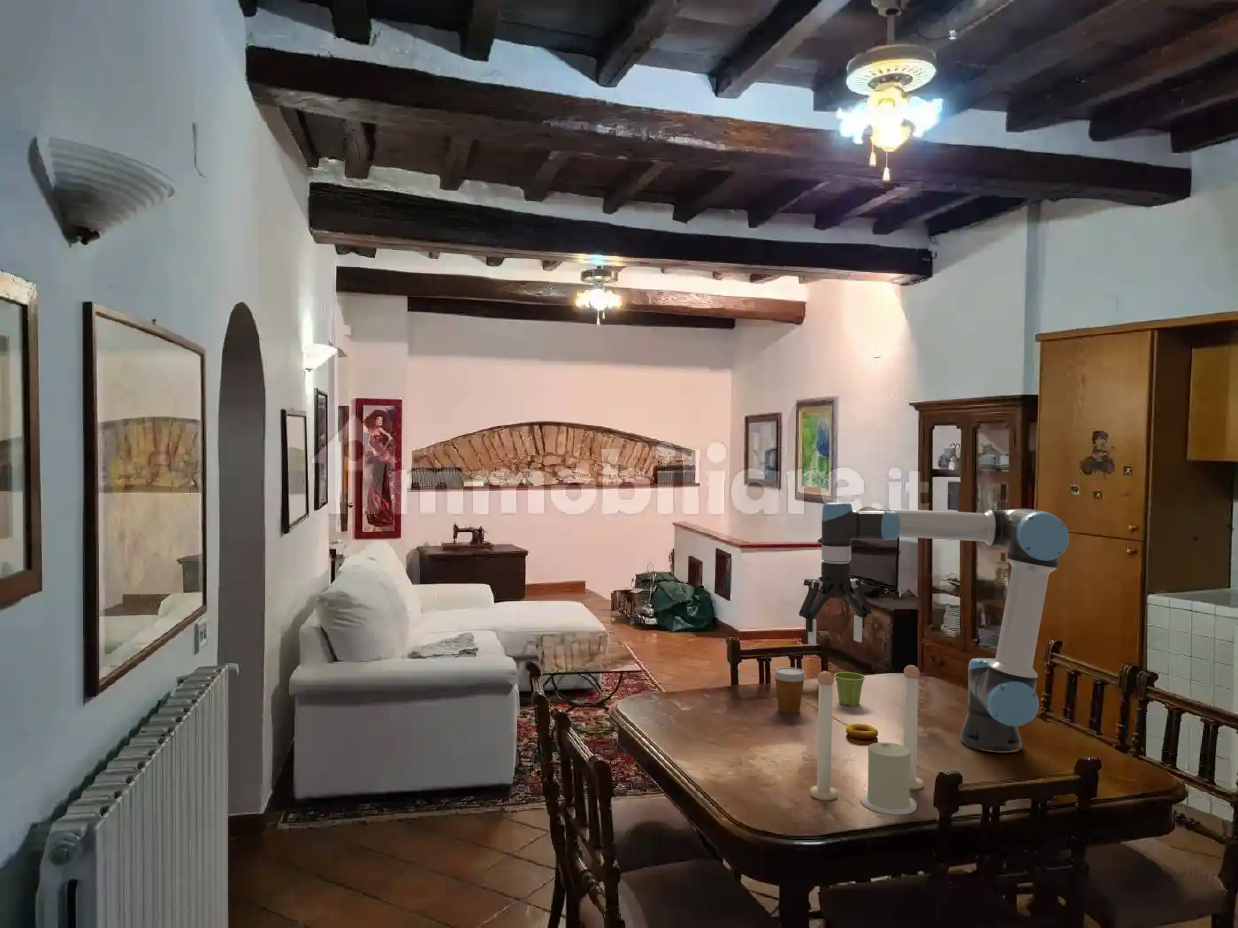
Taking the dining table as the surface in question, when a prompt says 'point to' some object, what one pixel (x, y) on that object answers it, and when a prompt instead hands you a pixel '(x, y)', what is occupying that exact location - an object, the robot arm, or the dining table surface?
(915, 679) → the gate
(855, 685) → the plant pot
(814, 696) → the dining table surface
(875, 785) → the can
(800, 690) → the disposable coffee cup
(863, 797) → the coaster
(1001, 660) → the robot arm
